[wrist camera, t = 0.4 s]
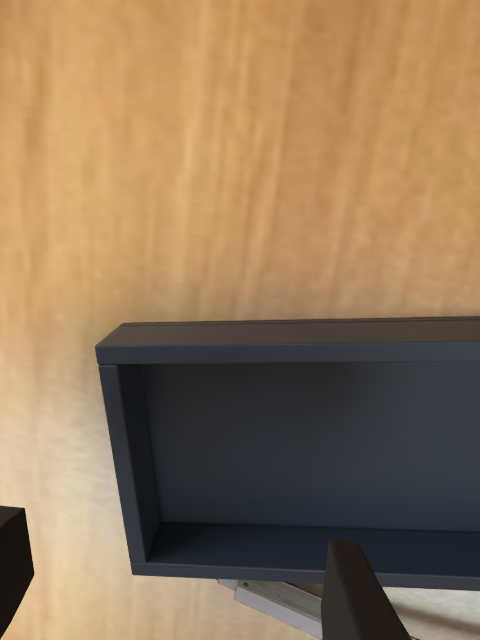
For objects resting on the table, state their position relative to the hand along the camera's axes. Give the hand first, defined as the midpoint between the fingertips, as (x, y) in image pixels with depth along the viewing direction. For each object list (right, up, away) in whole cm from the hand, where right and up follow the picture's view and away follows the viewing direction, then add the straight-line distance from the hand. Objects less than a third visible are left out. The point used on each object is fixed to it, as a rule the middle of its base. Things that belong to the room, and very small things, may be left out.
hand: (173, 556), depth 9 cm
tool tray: (+9, 0, +9) cm, 13 cm away
